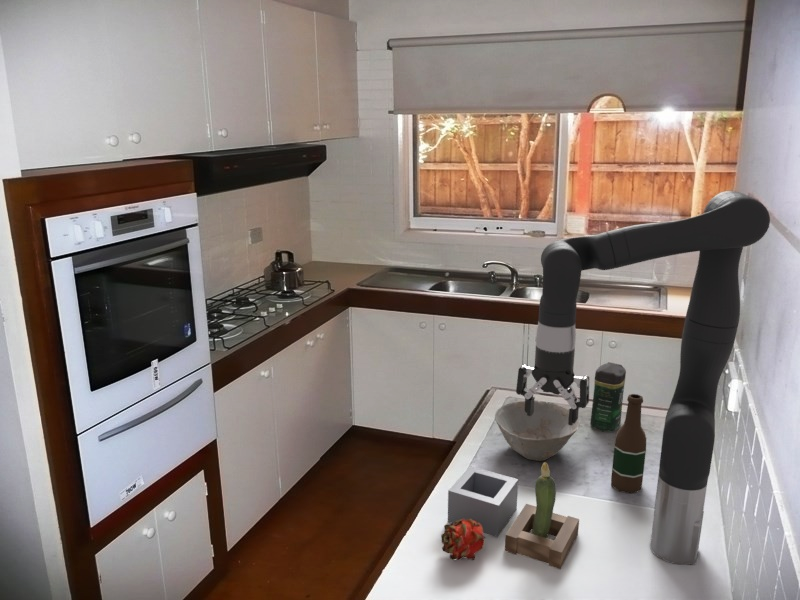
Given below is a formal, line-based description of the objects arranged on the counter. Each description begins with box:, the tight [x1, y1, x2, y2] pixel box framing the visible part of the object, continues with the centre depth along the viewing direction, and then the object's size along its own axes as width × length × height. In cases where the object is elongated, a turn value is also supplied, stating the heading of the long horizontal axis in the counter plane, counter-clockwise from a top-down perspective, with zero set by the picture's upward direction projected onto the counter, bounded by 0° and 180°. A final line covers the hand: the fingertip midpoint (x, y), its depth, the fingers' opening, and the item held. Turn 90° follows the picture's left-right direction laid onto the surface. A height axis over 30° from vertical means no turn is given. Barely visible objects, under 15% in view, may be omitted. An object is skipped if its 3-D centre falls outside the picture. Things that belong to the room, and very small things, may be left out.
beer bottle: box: [610, 393, 647, 494], centre depth 164 cm, size 8×8×24 cm
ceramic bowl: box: [494, 400, 581, 462], centre depth 182 cm, size 22×23×10 cm
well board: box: [504, 503, 580, 570], centre depth 145 cm, size 12×13×4 cm
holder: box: [447, 465, 519, 539], centre depth 154 cm, size 12×12×8 cm
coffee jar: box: [589, 362, 627, 433], centre depth 195 cm, size 10×8×19 cm
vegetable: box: [532, 461, 557, 539], centre depth 143 cm, size 4×4×20 cm
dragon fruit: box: [440, 518, 486, 561], centre depth 141 cm, size 8×8×12 cm
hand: (550, 419), depth 137 cm, fingers open, 8 cm apart
